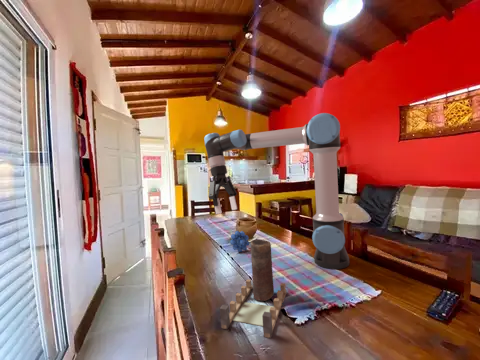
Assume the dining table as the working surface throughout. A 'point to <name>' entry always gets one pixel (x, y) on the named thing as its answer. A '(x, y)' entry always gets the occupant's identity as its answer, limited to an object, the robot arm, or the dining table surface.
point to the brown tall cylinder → (262, 270)
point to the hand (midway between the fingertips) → (227, 211)
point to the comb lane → (252, 310)
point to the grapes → (239, 241)
